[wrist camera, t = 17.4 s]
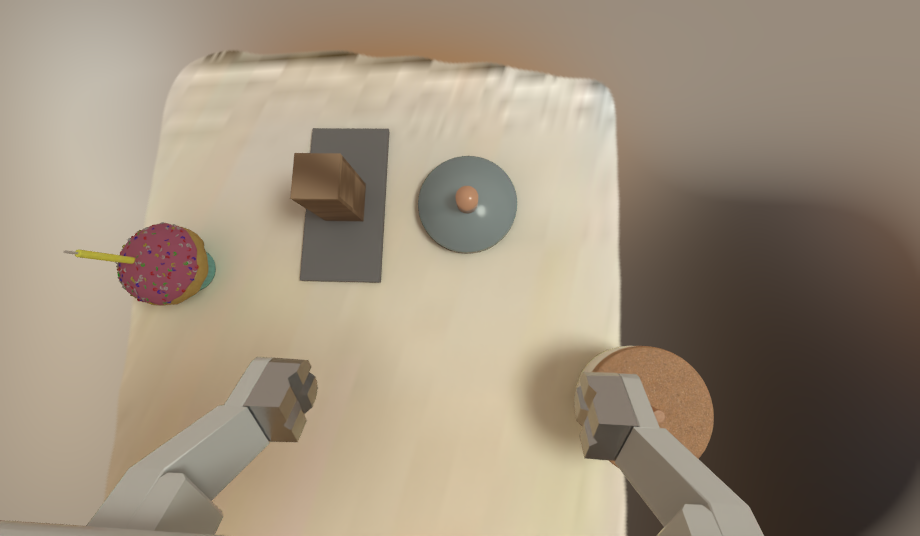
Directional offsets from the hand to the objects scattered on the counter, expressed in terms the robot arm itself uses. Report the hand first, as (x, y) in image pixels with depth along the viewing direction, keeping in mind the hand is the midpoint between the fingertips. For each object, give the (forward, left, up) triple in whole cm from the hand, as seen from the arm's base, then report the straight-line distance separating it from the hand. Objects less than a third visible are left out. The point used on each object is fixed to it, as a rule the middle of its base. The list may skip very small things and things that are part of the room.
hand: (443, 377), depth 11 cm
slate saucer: (+14, 0, -29) cm, 33 cm away
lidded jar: (-6, -16, -30) cm, 34 cm away
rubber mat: (+14, +14, -29) cm, 36 cm away
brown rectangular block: (+14, +14, -29) cm, 35 cm away
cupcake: (+6, +31, -30) cm, 44 cm away
